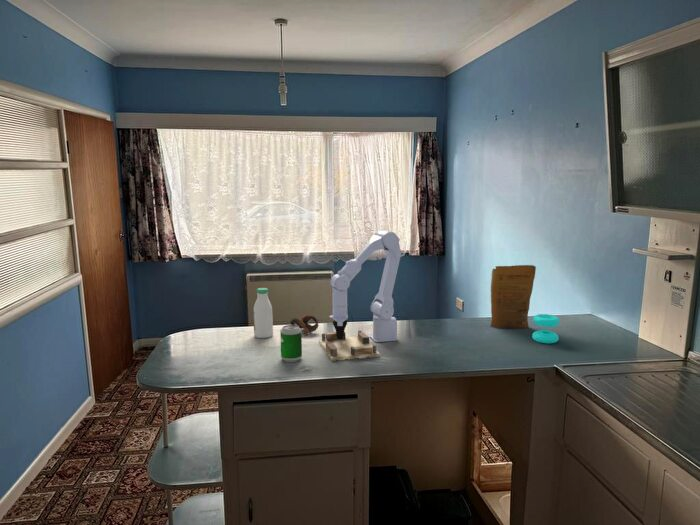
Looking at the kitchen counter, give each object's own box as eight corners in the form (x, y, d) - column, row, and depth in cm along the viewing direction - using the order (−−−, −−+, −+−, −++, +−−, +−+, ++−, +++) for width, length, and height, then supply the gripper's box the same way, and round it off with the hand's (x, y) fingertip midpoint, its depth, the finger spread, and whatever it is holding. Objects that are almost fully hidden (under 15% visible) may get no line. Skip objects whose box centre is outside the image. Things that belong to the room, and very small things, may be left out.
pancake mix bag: (534, 330, 214) (538, 266, 209) (489, 329, 215) (492, 265, 211) (530, 325, 220) (533, 263, 216) (486, 324, 222) (489, 263, 217)
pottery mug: (316, 329, 217) (320, 315, 212) (314, 344, 209) (318, 330, 205) (289, 322, 216) (293, 309, 211) (286, 338, 208) (290, 324, 203)
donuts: (554, 321, 191) (529, 316, 197) (553, 346, 193) (527, 340, 199) (563, 316, 198) (538, 312, 205) (562, 340, 200) (537, 335, 206)
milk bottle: (276, 334, 207) (275, 288, 204) (264, 339, 200) (262, 291, 197) (263, 332, 211) (261, 286, 208) (250, 336, 204) (248, 289, 201)
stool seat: (362, 338, 202) (362, 329, 201) (379, 356, 181) (379, 346, 180) (319, 342, 197) (318, 333, 196) (331, 361, 176) (331, 350, 176)
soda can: (305, 357, 180) (304, 325, 178) (296, 364, 173) (295, 331, 171) (286, 354, 183) (286, 323, 181) (277, 361, 176) (276, 329, 174)
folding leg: (327, 340, 195) (327, 334, 195) (325, 338, 197) (325, 332, 197) (345, 338, 197) (345, 332, 197) (343, 337, 200) (343, 330, 199)
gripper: (330, 300, 199) (330, 333, 201) (329, 309, 185) (329, 344, 187) (347, 300, 200) (347, 333, 202) (348, 309, 185) (348, 344, 187)
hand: (340, 338), depth 194 cm, fingers closed
